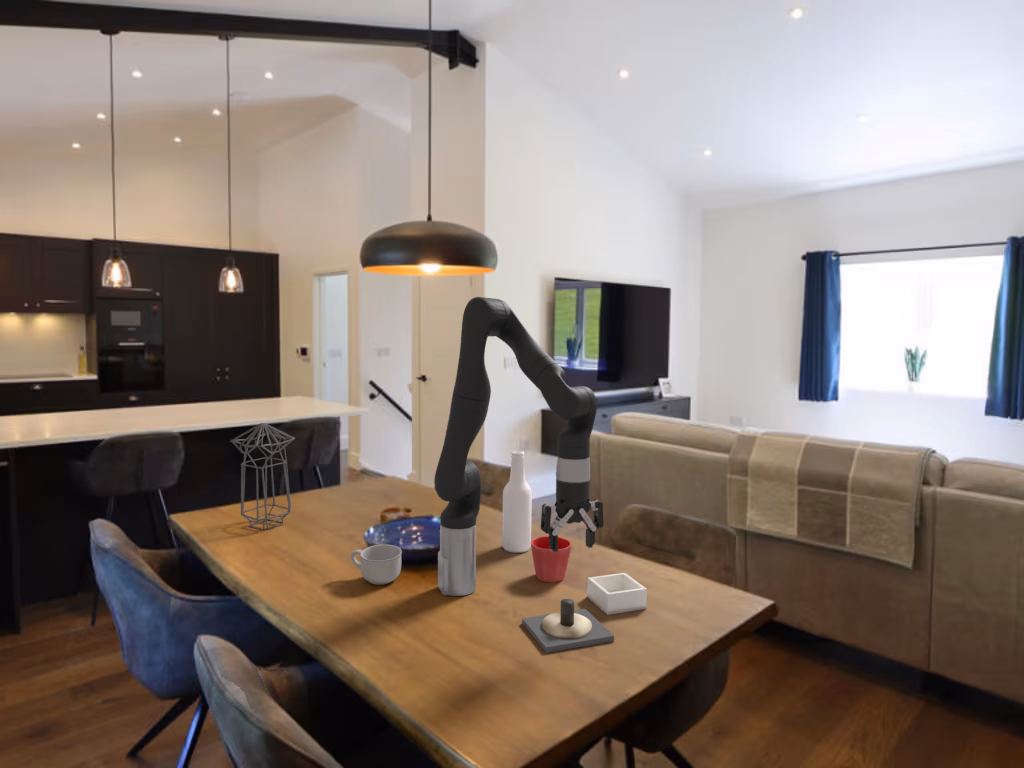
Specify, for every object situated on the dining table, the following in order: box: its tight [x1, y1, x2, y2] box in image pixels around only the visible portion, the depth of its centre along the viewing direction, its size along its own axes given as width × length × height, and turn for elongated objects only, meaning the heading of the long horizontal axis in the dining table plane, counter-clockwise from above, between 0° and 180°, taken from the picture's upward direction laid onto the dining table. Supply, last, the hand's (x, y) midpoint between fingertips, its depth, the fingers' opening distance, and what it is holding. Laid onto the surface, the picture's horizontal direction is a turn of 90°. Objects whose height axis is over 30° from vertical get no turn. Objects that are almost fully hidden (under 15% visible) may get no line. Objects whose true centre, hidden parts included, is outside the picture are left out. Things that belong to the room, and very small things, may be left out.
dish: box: [586, 572, 648, 616], centre depth 157 cm, size 11×11×5 cm
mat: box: [521, 608, 615, 654], centre depth 141 cm, size 16×14×1 cm
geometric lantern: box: [229, 422, 296, 531], centre depth 212 cm, size 16×16×35 cm
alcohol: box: [501, 450, 533, 554], centre depth 194 cm, size 9×9×30 cm
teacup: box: [350, 544, 403, 586], centre depth 169 cm, size 14×11×8 cm
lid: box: [542, 598, 592, 639], centre depth 141 cm, size 11×11×6 cm
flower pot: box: [530, 535, 572, 583], centre depth 172 cm, size 11×11×10 cm
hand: (571, 548), depth 141 cm, fingers open, 8 cm apart
